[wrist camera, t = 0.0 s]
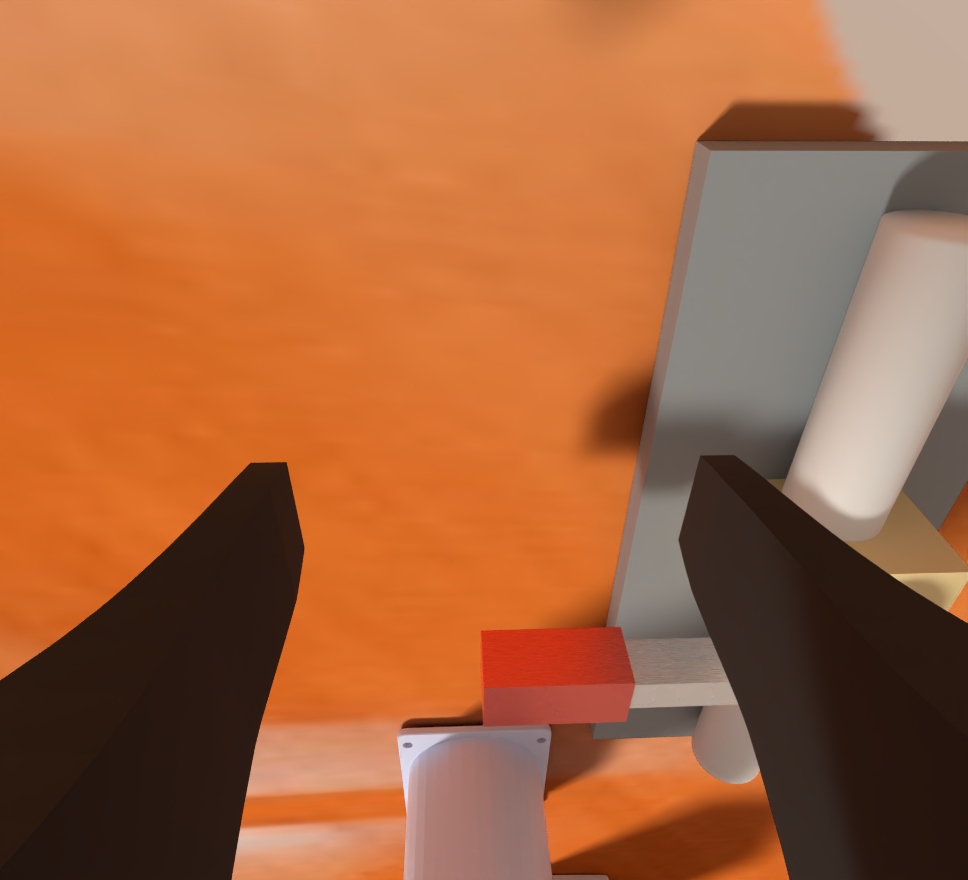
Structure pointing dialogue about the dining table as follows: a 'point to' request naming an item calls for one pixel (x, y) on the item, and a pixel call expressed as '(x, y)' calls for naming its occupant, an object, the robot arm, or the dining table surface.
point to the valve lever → (593, 675)
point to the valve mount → (804, 378)
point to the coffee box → (580, 877)
